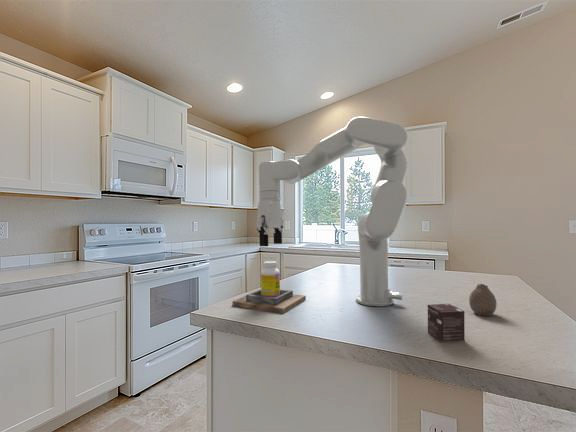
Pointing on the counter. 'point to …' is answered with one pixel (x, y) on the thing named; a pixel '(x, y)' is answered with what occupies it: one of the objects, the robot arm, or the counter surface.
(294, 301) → the board
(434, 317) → the box
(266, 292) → the supplement bottle
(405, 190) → the robot arm
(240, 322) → the counter surface
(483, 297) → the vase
